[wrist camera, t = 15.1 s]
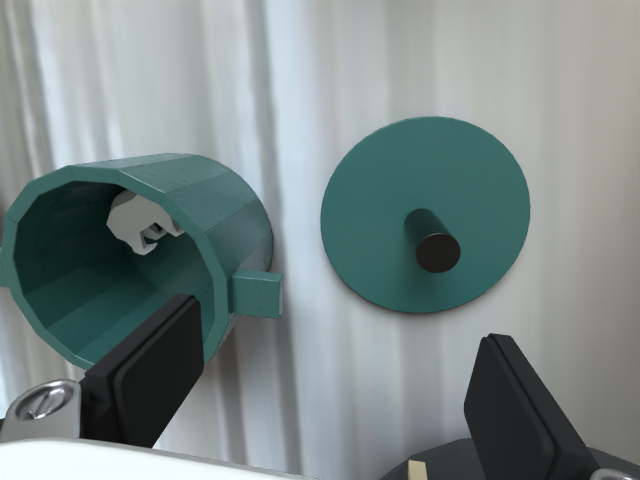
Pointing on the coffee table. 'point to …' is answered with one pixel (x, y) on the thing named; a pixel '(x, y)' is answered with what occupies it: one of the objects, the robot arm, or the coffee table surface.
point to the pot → (129, 267)
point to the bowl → (475, 464)
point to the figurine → (139, 221)
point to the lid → (425, 214)
